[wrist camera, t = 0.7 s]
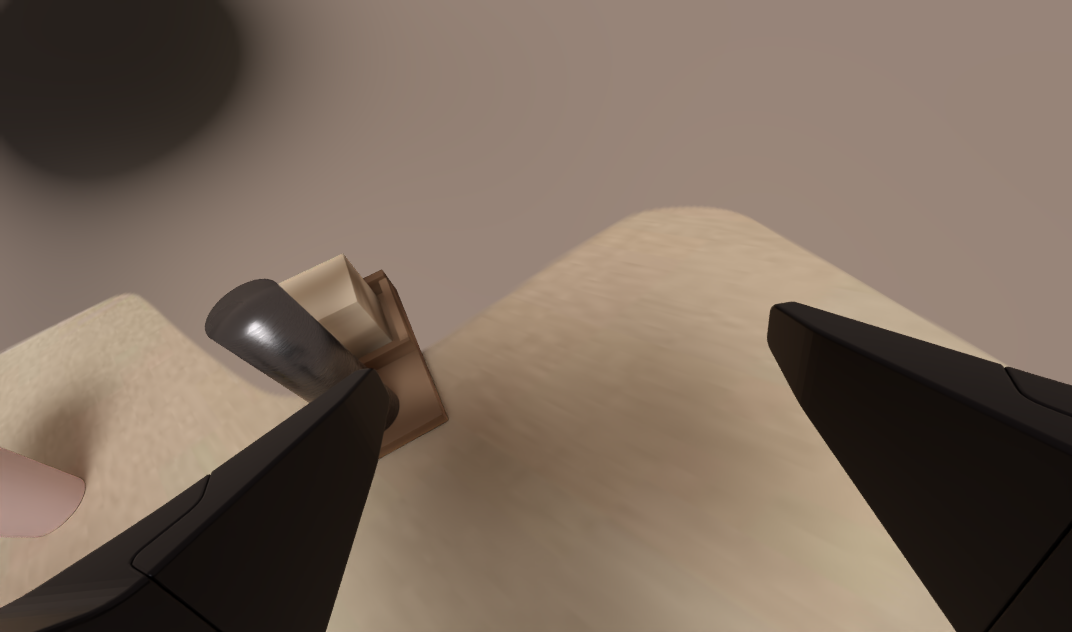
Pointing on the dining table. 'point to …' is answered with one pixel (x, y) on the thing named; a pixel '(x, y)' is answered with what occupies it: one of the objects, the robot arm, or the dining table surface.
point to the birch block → (342, 304)
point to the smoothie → (34, 496)
